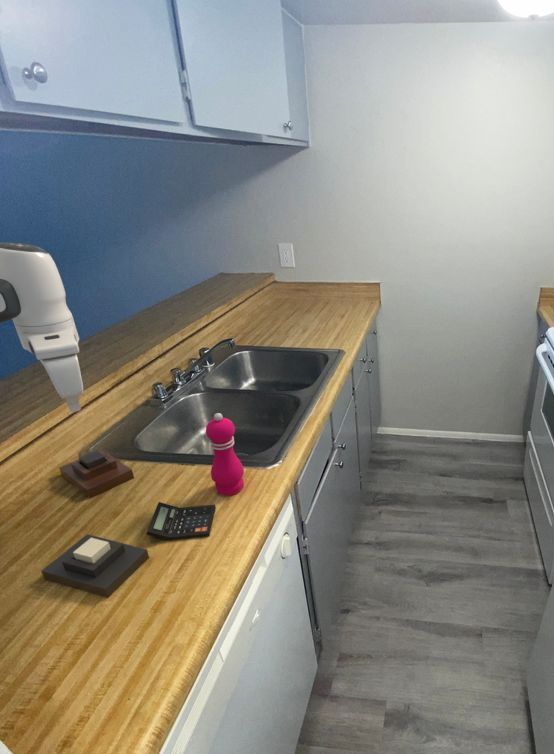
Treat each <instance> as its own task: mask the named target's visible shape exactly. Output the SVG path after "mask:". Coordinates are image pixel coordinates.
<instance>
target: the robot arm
mask: <svg viewBox="0 0 554 754" xmlns="http://www.w3.org/2000/svg"><path fill="white" fill-rule="evenodd" d="M66 297H67V293H66V290H65V286H64V283H63V280H62V277H61V274H60V272H59V270H58V267H57V265H56V263H55V261H54V259H53V257H52V256H51V254H50V253H49V252H47V251H46V250H45V249H43V248H42V247H40V246H37V245H35V244H30V243H24V242H13V241H12V242H11V241H8V242H6V241H3V242H0V324H1V323H4V322H7V321H11V320H12V322H13V325H14V327H15V330H16V334H17V337H18V339H19V342H20V345H21V347H22V348H23V349H24V350H26V351H28V352H29V353H31V354H32V355H33V356H34V358H36V360H38V361H40V363H41V364H42V366H43V367H44V369H45V371H46V373H47V375H48V376H49V379H50V381H51V383H52V385H53V386H54V388H55V391H56V393H57V394H58V396H59V397H60V398H61V399H63V400H65V401H66V404H67V407H68V410H69V411H70V412H71V413H76V412H79V411H81V410H82V407H81V404H80V398H79V396H82V395H83V394H84V383H83V377H82V373H81V367H80V362H79V358H78V354H79V353H80V347H79V341H80V335H79V332H78V329H77V326H76V323H75V320H74V316H73V314H72V312H71V310H70V309H69V306H68V305H67V301H66Z"/></svg>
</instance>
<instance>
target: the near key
mask: <svg viewBox="0 0 554 754" xmlns="http://www.w3.org/2000/svg"><path fill="white" fill-rule="evenodd" d="M110 549H111V548H110V545H109V542H106V541H102V540H98V539H94V538H90V539H89V540H88V541H86V542H85V543H84V544H83V545H81V546H80V547H79V548H78V549H77V550H75V551H74V552H73V554H74V556H75V559H76V560H80V561H83V562H87V563H91V564H94V563H95V562H96V561H97V560H98V559H100V558H101V557H102V556H103V555H104V554H105V553H107V552H108V551H109V550H110Z"/></svg>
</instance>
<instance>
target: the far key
mask: <svg viewBox="0 0 554 754" xmlns="http://www.w3.org/2000/svg"><path fill="white" fill-rule="evenodd" d="M78 460H79V461H80V463H81V464H82V465H83V466H84V467H86V468H87V469H90V468H92V467H95V466H97V465H99V464H102V463H104V462H106V459H105V456H104V455H102V454H101V453H99V450H94V451H91V452H89V453H87V454H84V455H82V456H80V457H78Z"/></svg>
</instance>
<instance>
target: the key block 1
mask: <svg viewBox="0 0 554 754" xmlns="http://www.w3.org/2000/svg"><path fill="white" fill-rule="evenodd" d="M98 452H99V453H101V454H102V455H104V456H105V459H106V462H104V463H102V464H99V465H97V466H95V467H92V468H90V469H87V468H86V467H84V466H83V465H82V464H81V463H80V461H79V459H77V460H75V461H72V462H69V463H67V464H65V465H61V466H59V467H58V469H59V472H60V475H61V477H62V478H64V479H65V480H66V481H67V482H69V483H70V484H71V485H73V486H74V487H75V488H76V489H77V490H79V491H80V492H81V493H83V495H85V496H86V497H88V498H89V499H93V498H94V497H97V496H99V495H102V494H103V493H106V492H108V491H110V490H112V489H114V488H116V487H118V486H121V485H123V484H125V483H127V482H129V481H131V480H133V479H135V475H134V472H133V469H132V468H130V467H128V466H127V465H126V464H125V463H123V462H122V461H120V460H118V459H117V458H115V456H112V455H111V454H110V453H108V452H107V451H105V450H104V449H102V450H98Z"/></svg>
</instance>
